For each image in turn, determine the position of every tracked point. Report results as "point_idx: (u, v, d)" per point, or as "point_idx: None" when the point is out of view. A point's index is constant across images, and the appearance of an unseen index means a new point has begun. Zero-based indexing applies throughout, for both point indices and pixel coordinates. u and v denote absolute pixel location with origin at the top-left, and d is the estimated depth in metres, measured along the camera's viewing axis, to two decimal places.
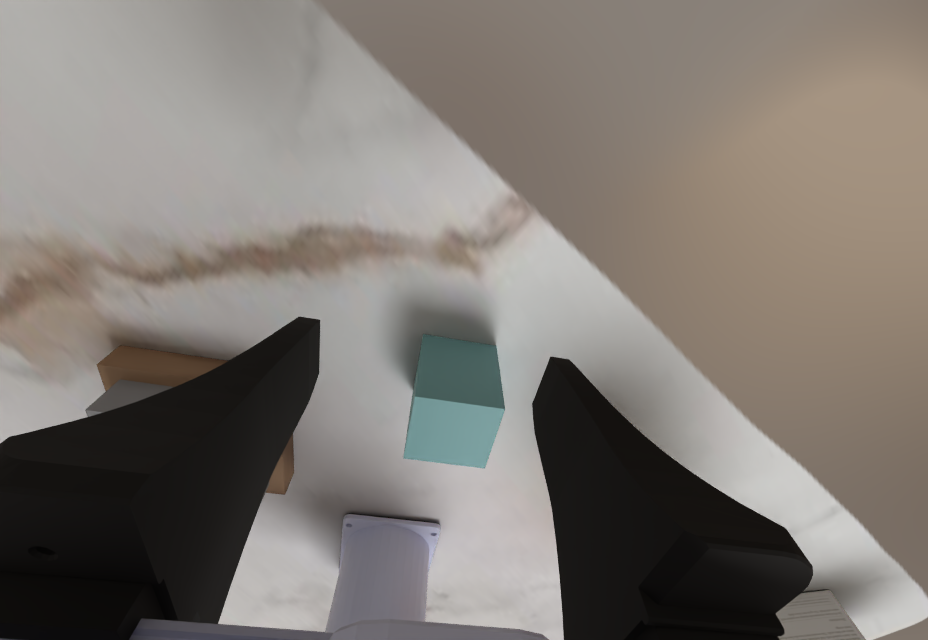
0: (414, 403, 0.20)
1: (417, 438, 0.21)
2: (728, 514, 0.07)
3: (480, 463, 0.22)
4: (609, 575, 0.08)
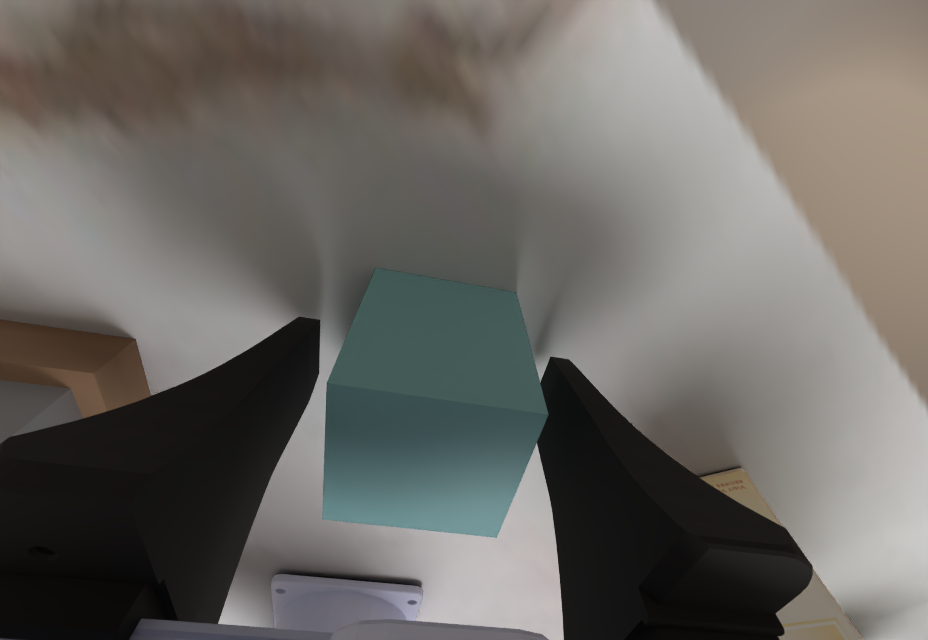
0: (329, 400, 0.08)
1: (347, 478, 0.09)
2: (728, 514, 0.07)
3: (488, 528, 0.10)
4: (609, 575, 0.08)
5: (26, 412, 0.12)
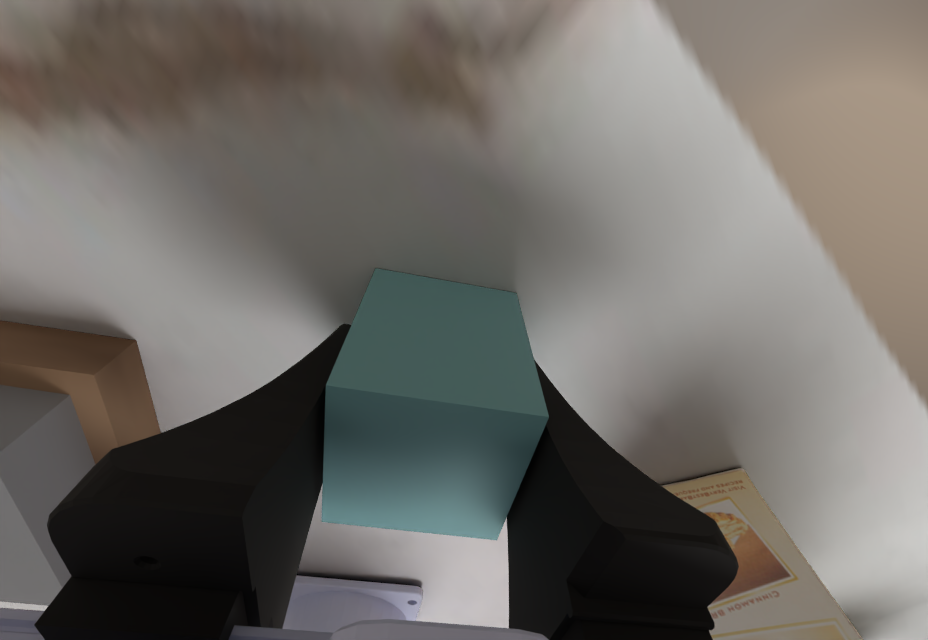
0: (328, 403, 0.08)
1: (346, 481, 0.09)
2: (657, 505, 0.07)
3: (488, 530, 0.10)
4: (545, 569, 0.08)
5: (25, 419, 0.12)
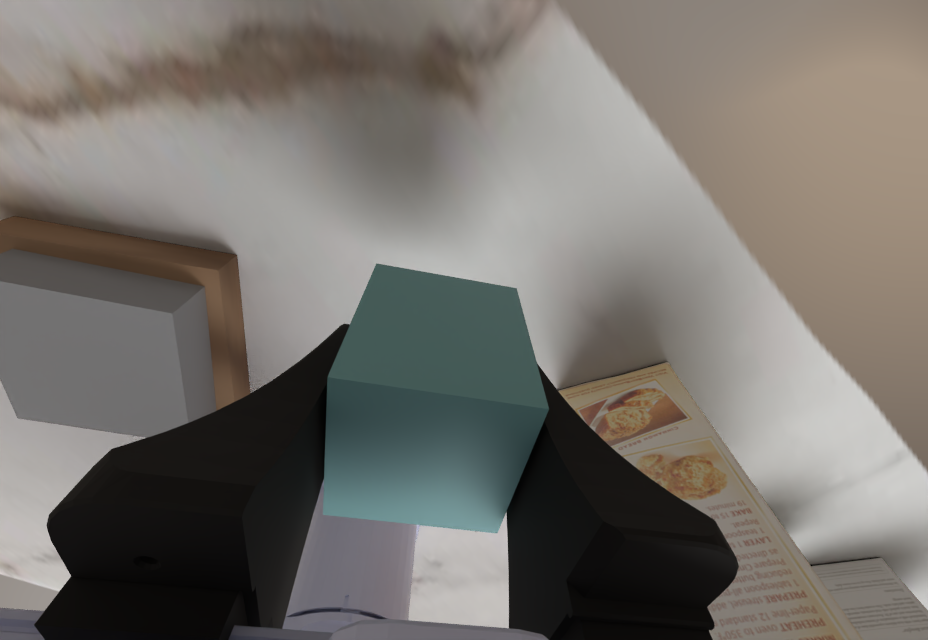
0: (329, 395, 0.08)
1: (347, 473, 0.09)
2: (657, 506, 0.07)
3: (488, 523, 0.10)
4: (545, 569, 0.08)
5: (183, 296, 0.18)
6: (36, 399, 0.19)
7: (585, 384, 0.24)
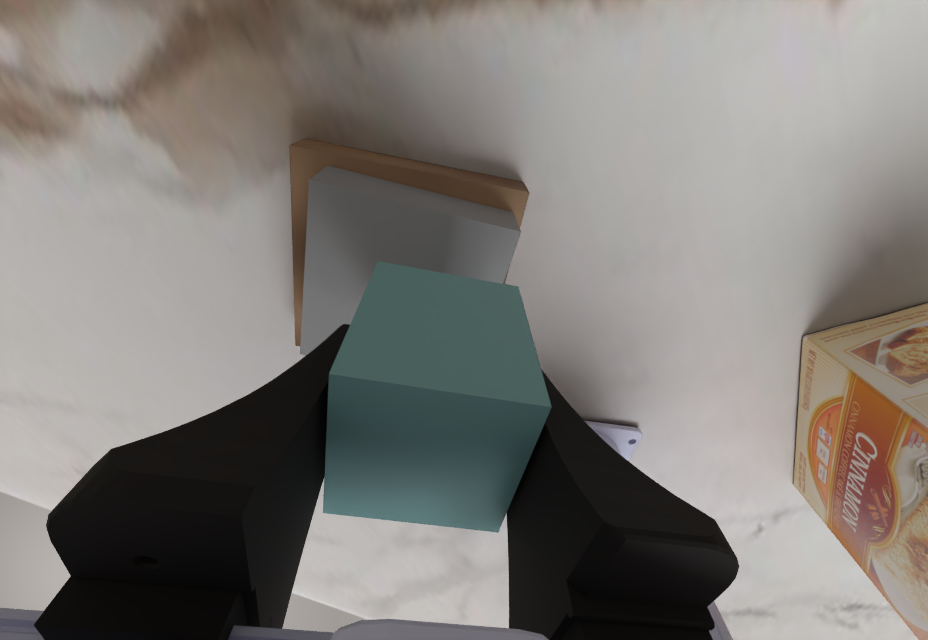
0: (331, 392, 0.08)
1: (348, 471, 0.09)
2: (658, 506, 0.07)
3: (489, 522, 0.10)
4: (545, 569, 0.08)
5: (508, 218, 0.17)
6: (330, 331, 0.18)
7: (838, 327, 0.23)
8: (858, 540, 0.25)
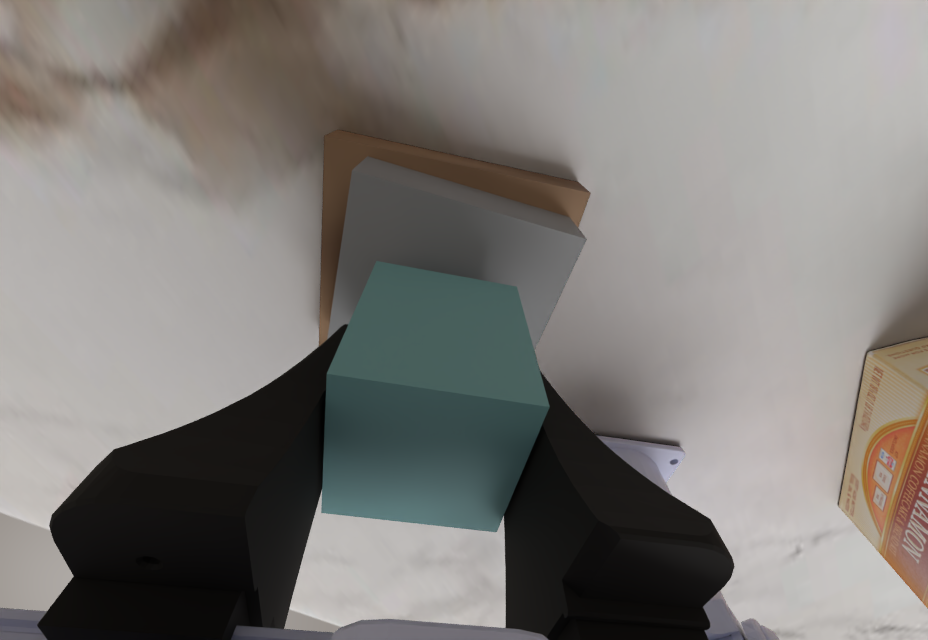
0: (328, 391, 0.08)
1: (346, 471, 0.09)
2: (653, 505, 0.07)
3: (488, 522, 0.10)
4: (541, 569, 0.08)
5: (568, 223, 0.15)
6: None
7: (907, 343, 0.21)
8: (921, 571, 0.23)
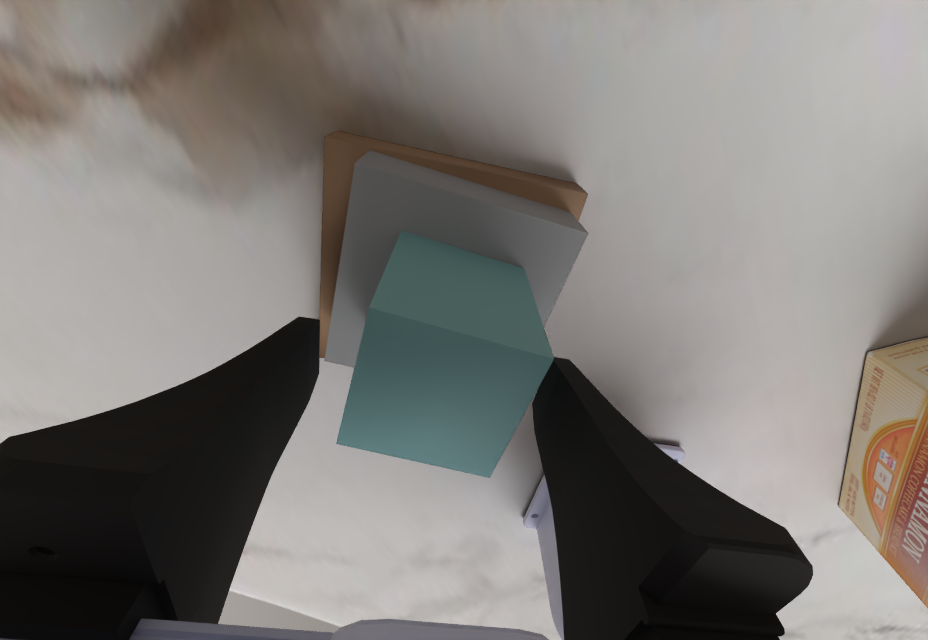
0: (367, 325, 0.09)
1: (367, 403, 0.10)
2: (728, 514, 0.07)
3: (483, 467, 0.12)
4: (609, 575, 0.08)
5: (569, 218, 0.15)
6: (361, 337, 0.16)
7: (907, 343, 0.21)
8: (922, 571, 0.23)
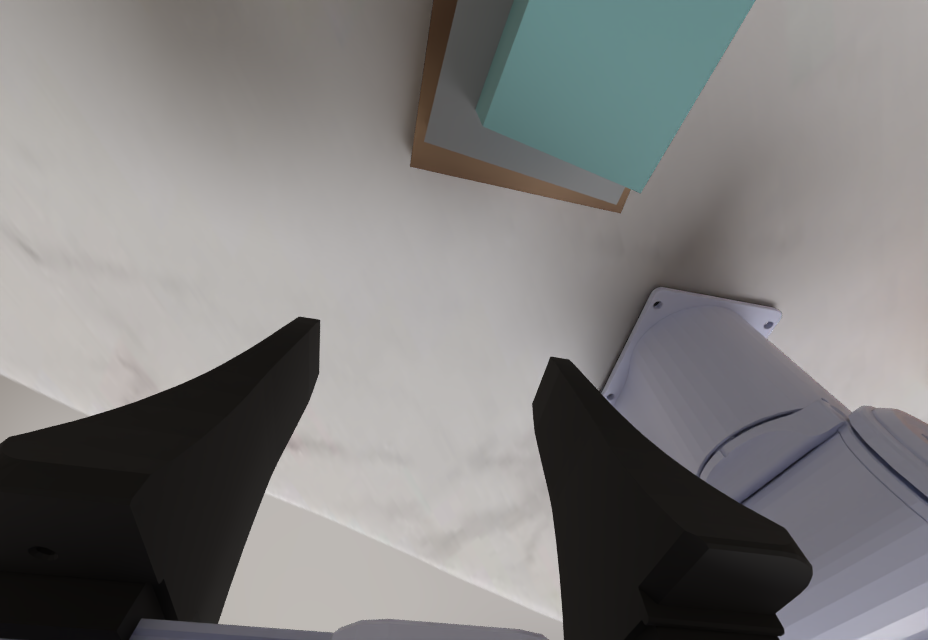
0: None
1: (533, 57, 0.09)
2: (728, 513, 0.07)
3: (637, 175, 0.10)
4: (609, 575, 0.08)
5: None
6: (468, 107, 0.14)
7: None
8: None
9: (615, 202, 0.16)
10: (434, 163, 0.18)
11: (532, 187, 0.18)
